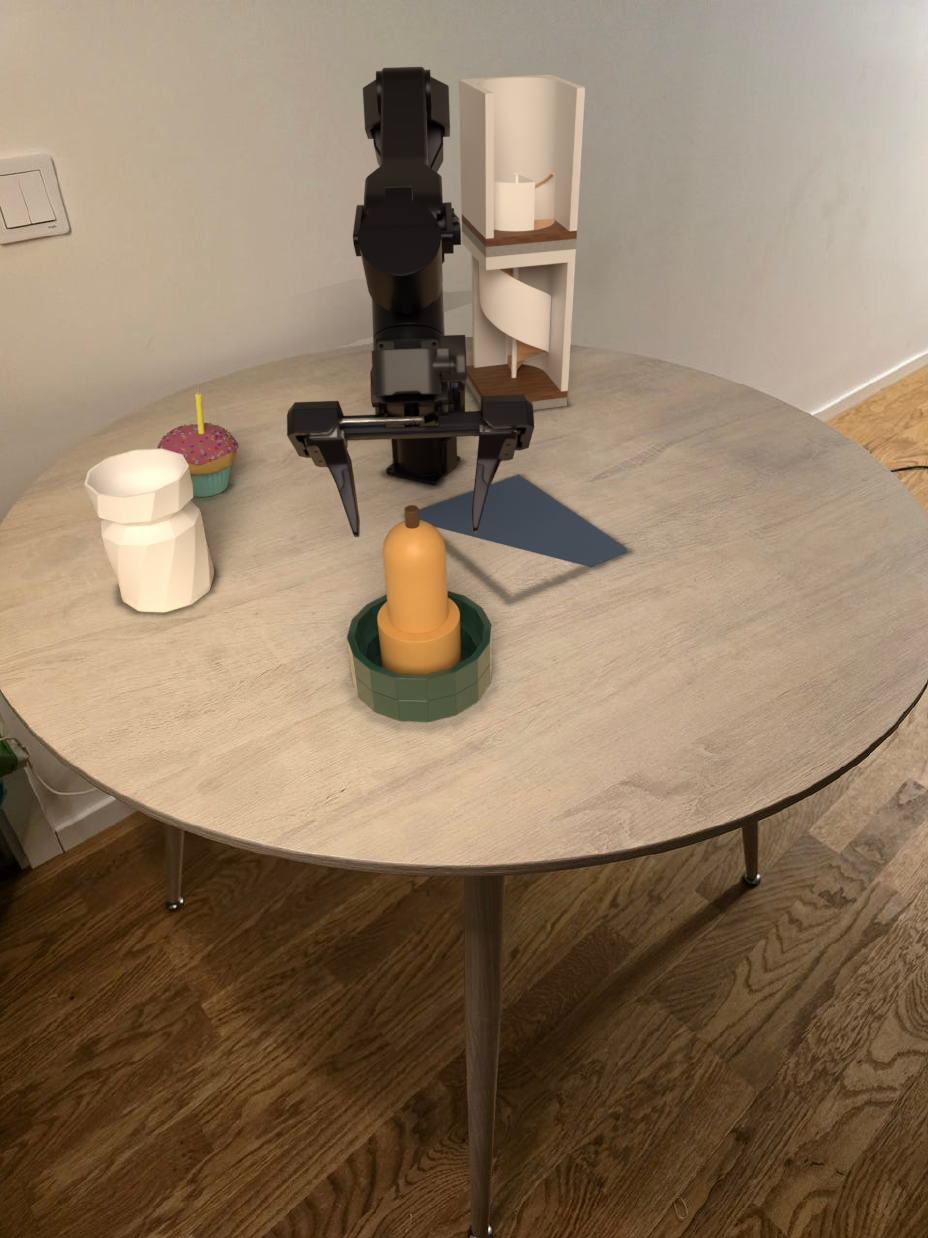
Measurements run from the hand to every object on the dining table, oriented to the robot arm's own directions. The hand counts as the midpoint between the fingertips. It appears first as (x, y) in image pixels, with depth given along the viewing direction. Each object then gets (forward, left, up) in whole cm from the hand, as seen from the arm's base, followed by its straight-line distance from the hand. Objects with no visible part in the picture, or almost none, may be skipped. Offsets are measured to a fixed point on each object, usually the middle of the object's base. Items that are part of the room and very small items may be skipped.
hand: (415, 533), depth 67 cm
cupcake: (-35, +13, -12) cm, 39 cm away
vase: (-26, -3, -12) cm, 29 cm away
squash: (+2, -4, -11) cm, 12 cm away
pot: (+2, -4, -11) cm, 12 cm away
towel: (0, +19, -11) cm, 23 cm away
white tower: (-14, +50, -12) cm, 54 cm away
